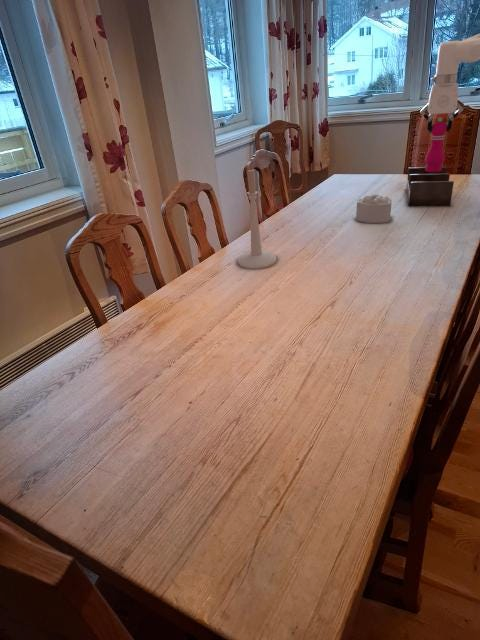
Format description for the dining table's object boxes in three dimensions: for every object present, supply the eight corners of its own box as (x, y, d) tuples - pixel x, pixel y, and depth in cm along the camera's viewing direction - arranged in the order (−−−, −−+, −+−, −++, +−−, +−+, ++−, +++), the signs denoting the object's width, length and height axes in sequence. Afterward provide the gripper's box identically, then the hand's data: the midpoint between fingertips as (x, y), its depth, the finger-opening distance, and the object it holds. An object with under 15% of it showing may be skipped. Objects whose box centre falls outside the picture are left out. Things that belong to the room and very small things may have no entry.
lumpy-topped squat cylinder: (389, 223, 165) (391, 200, 161) (355, 222, 169) (356, 200, 165) (389, 214, 174) (391, 193, 170) (356, 214, 178) (357, 193, 173)
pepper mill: (421, 171, 177) (428, 118, 167) (426, 168, 182) (432, 116, 172) (440, 172, 173) (448, 118, 163) (444, 168, 178) (452, 115, 168)
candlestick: (271, 251, 151) (266, 162, 135) (280, 265, 140) (276, 170, 124) (235, 256, 149) (226, 167, 134) (241, 271, 138) (233, 175, 123)
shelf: (442, 188, 200) (446, 166, 195) (449, 206, 177) (453, 181, 172) (406, 189, 204) (408, 167, 199) (408, 206, 181) (411, 182, 176)
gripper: (421, 82, 160) (415, 134, 169) (472, 78, 155) (463, 132, 165) (420, 81, 166) (414, 131, 176) (469, 77, 162) (461, 129, 171)
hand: (438, 131), depth 170 cm, fingers closed on pepper mill, 6 cm apart
